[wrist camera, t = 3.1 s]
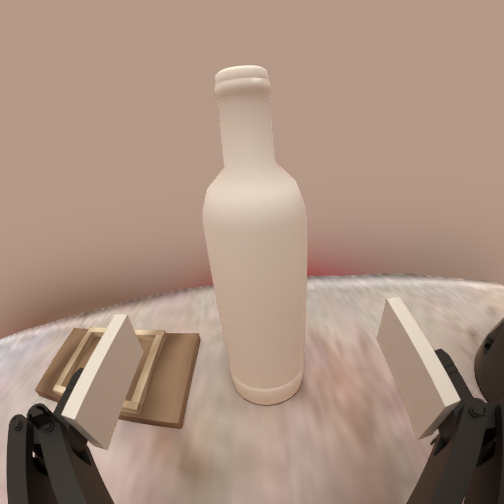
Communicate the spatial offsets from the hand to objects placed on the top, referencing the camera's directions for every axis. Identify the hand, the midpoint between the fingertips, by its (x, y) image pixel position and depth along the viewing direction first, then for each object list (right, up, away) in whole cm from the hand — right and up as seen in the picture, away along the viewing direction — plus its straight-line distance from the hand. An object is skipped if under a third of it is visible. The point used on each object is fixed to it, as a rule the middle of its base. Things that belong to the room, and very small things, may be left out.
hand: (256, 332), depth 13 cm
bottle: (+2, -11, +16) cm, 19 cm away
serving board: (-18, -12, +17) cm, 28 cm away
